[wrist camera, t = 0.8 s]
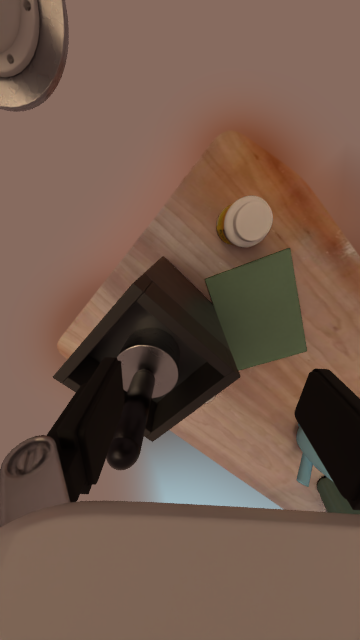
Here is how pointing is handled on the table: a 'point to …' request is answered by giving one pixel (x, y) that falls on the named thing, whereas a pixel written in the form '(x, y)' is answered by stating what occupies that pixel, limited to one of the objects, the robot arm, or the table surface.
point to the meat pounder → (142, 389)
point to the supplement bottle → (245, 222)
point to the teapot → (308, 459)
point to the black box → (179, 322)
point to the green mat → (259, 310)
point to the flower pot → (333, 498)
